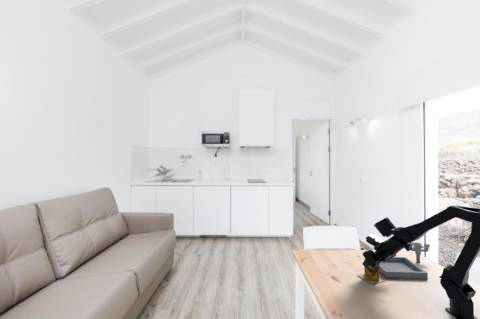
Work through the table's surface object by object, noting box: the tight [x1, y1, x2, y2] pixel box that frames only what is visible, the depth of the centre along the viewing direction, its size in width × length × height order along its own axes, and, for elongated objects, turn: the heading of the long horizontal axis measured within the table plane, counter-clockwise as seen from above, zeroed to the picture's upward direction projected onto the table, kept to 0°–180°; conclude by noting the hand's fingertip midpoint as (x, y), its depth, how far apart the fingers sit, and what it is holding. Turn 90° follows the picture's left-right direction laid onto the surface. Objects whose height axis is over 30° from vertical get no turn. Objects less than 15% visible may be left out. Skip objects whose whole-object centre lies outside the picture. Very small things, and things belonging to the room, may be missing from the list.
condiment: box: [357, 251, 385, 285], centre depth 112 cm, size 7×8×12 cm
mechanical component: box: [410, 241, 430, 264], centre depth 129 cm, size 3×10×10 cm, turn 78°
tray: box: [379, 256, 429, 280], centre depth 121 cm, size 18×18×3 cm
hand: (366, 263), depth 113 cm, fingers closed on condiment, 6 cm apart
